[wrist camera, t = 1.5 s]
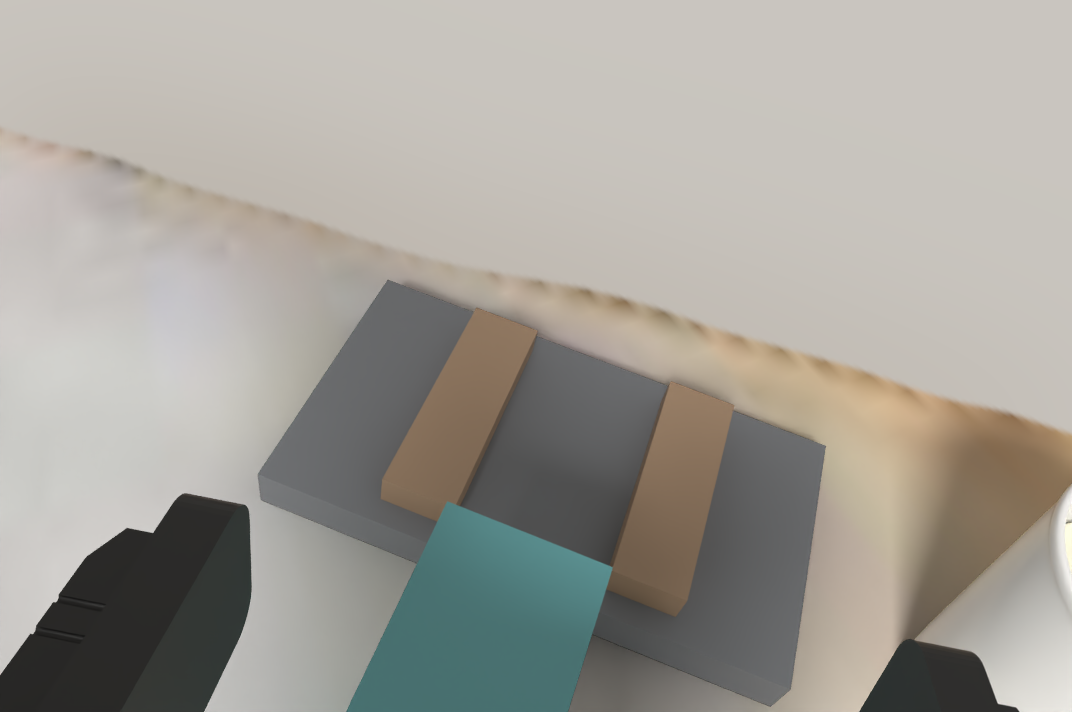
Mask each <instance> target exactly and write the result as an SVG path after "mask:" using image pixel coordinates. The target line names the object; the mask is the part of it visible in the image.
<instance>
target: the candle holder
mask: <svg viewBox="0 0 1072 712" xmlns="http://www.w3.org/2000/svg"><path fill="white" fill-rule="evenodd" d="M914 640H916V641H921V642H926V643H931V644H936V645H941V646H946V647H951V648H956V649H961V650H966V651H971V652H973V653H975V654H976V655H977V656H978V657H979V658H980V660H981V661H982V663H983V665H984V668H985V670H986V673H987V676H988V678H989V681H990V684H991V686H992V689H993V692H994V695H995V697H996V700H997V703H998V704H1002V705H1007V706H1012V707H1016V708H1017V709H1018V710H1019V712H1072V484H1071V485H1070V486H1069V487H1068V488H1067V489H1066V490H1065V491H1064V493H1063V494H1062V495H1061V497H1060V498H1059V499H1058V500H1057V501H1056V502H1055V503H1054V504H1053V505H1052V506H1051V507H1050V508H1049V509H1048V510H1047V511H1046V512H1045V513H1044V514H1043V515H1042V516H1041V517H1040V518H1039V519H1038V520H1037V521H1036V522H1035V523H1034V524H1033V525H1031V526H1030V527H1029V528H1028V529H1027V530H1026V531H1025V532H1024V533H1023V534H1022V535H1021V536H1020V537H1019V538H1018V539H1017V540H1016V541H1015V542H1014V543H1013V544H1012V545H1011V546H1009V547H1008V548H1007V549H1006V550H1005V551H1004V552H1003V553H1002V554H1001V555H1000V556H999V557H998V558H997V559H996V560H995V561H994V562H993V563H992V564H991V565H990V566H988V567H987V568H986V569H985V570H984V571H983V572H982V573H981V574H980V575H979V576H978V577H977V578H976V579H975V580H974V581H973V582H972V583H971V584H970V585H969V586H968V587H966V588H965V589H964V590H963V591H962V592H961V593H960V594H959V595H958V596H957V597H956V598H955V599H954V600H953V601H952V602H951V603H950V604H949V605H948V606H947V607H946V608H945V609H944V610H942V611H941V612H940V613H939V614H938V615H937V616H936V617H935V618H934V619H933V620H932V621H931V622H930V623H929V624H928V625H927V626H926V627H925V628H924V629H923V630H922V631H921V632H920V633H919V635H918V636H917V637H916V638H915V639H914Z"/></svg>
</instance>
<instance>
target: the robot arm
mask: <svg viewBox="0 0 1072 712" xmlns="http://www.w3.org/2000/svg"><path fill="white" fill-rule="evenodd" d="M251 587H252V585H251V552H250V519H249V511H248V508H247V506H246V505H242V504H237V503H232V502H227V501H222V500H217V499H212V498H207V497H202V496H197V495H192V494H186V493H185V494H182V495H180V496H179V497H178V498H177V499H176V500H175V501H174V503H173V504H172V506H171V507H170V509H169V510H168V512H167V513H166V515H165V516H164V518H163V519H162V521H161V522H160V524H159V525H158V527H157V528H156V530H155V531H154V533H149V532H144V531H139V530H134V529H129V528H126V529H125V530H124V531H122V532H121V533H119V534H118V535H117V536H115V537H114V538H112V539H111V540H110V541H108V542H107V543H105V544H104V545H102V546H101V547H100V548H98V549H97V550H95V551H94V552H93V553H91V554H90V555H88V556H87V557H86V558H85V559H84V561H83V562H82V564H81V565H80V566H79V568H78V569H77V570H76V572H75V573H74V575H73V576H72V577H71V579H70V580H69V581H68V583H67V584H66V586H65V587H64V588H63V590H62V591H61V592H60V594H59V598H58V601H57V602H53V603H52V605H51V606H50V608H49V609H48V610H47V612H46V613H45V614H44V616H43V617H42V619H41V620H40V621H39V623H38V624H37V625H36V630H35V632H34V634H30V635H29V636H28V638H27V639H26V640H25V642H24V643H23V645H22V646H21V647H20V649H19V650H18V651H17V653H16V654H15V656H14V657H13V658H12V660H11V661H10V662H9V664H8V665H7V667H6V668H5V669H4V671H3V672H2V673H1V675H0V712H204V711H205V708H206V706H207V704H208V702H209V700H210V698H211V696H212V694H213V692H214V690H215V688H216V686H217V684H218V682H219V679H220V677H221V675H222V673H223V671H224V669H225V667H226V665H227V663H228V661H229V659H230V657H231V655H232V652H233V650H234V648H235V646H236V644H237V642H238V640H239V638H240V635H241V633H242V630H243V627H244V624H245V621H246V617H247V614H248V610H249V605H250V599H251ZM860 712H1019V710H1018V709H1017V708H1016V707H1012V706H1007V705H1002V704H998V703H997V700H996V697H995V695H994V692H993V689H992V686H991V684H990V681H989V678H988V676H987V673H986V670H985V668H984V665H983V663H982V661H981V660H980V658H979V657H978V656H977V655H976V654H975V653H973V652H971V651H966V650H961V649H956V648H951V647H946V646H941V645H936V644H931V643H926V642H921V641H916V640H911V639H909V640H905V641H903V642H902V643H901V644H900V645H899V647H898V648H897V650H896V652H895V653H894V655H893V656H892V658H891V660H890V661H889V663H888V665H887V666H886V668H885V670H884V671H883V673H882V675H881V676H880V678H879V680H878V681H877V683H876V685H875V686H874V688H873V690H872V691H871V693H870V695H869V696H868V698H867V700H866V701H865V703H864V705H863V706H862V708H861V710H860Z"/></svg>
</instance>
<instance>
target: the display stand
mask: <svg viewBox="0 0 1072 712" xmlns="http://www.w3.org/2000/svg"><path fill="white" fill-rule="evenodd" d="M537 332H538V331H537V330H534V329H532V328H529V327H526V326H524V325H521V324H519V323H516V322H513V321H511V320H508V319H505V318H503V317H500V316H497V315H495V314H492V313H490V312H487V311H484V310H482V309H479V308H476V310H475V311H474V312H472V311H469V310H466V309H464V308H461V307H458V306H456V305H453V304H451V303H448V302H445V301H443V300H440V299H437V298H435V297H432V296H429V295H427V294H424V293H422V292H419V291H416V290H414V289H411V288H408V287H406V286H403V285H400V284H398V283H395V282H393V281H390V280H387V282H386V283H385V285H384V286H383V288H382V289H381V291H380V292H379V294H378V295H377V297H376V298H375V300H374V301H373V303H372V304H371V306H370V307H369V309H368V310H367V312H366V313H365V315H364V316H363V318H362V319H361V320H360V322H359V323H358V325H357V326H356V328H355V329H354V331H353V332H352V334H351V335H350V337H349V338H348V340H347V341H346V343H345V344H344V346H343V347H342V349H341V350H340V352H339V353H338V355H337V356H336V358H335V359H334V361H333V362H332V364H331V365H330V367H329V368H328V370H327V371H326V373H325V374H324V376H323V377H322V379H321V380H320V382H319V383H318V385H317V386H316V388H315V389H314V391H313V392H312V394H311V395H310V397H309V398H308V400H307V401H306V403H305V404H304V406H303V407H302V409H301V410H300V412H299V413H298V415H297V416H296V418H295V419H294V421H293V422H292V424H291V425H290V427H289V428H288V430H287V431H286V433H285V434H284V436H283V437H282V439H281V440H280V442H279V443H278V445H277V446H276V448H275V449H274V451H273V452H272V454H271V455H270V457H269V458H268V460H267V461H266V463H265V464H264V466H263V467H262V469H261V470H260V472H259V473H258V481H259V489H260V498H261V500H262V501H265V502H267V503H270V504H272V505H275V506H277V507H280V508H282V509H285V510H287V511H290V512H292V513H294V514H297V515H299V516H302V517H304V518H307V519H309V520H312V521H314V522H317V523H319V524H322V525H324V526H326V527H329V528H331V529H334V530H336V531H339V532H341V533H344V534H346V535H349V536H351V537H354V538H356V539H358V540H361V541H363V542H366V543H368V544H371V545H373V546H376V547H378V548H381V549H383V550H386V551H388V552H391V553H393V554H395V555H398V556H400V557H403V558H405V559H408V560H410V561H413V562H415V563H418V561H419V559H420V557H421V555H422V553H423V551H424V549H425V546H426V544H427V542H428V540H429V538H430V536H431V534H432V532H433V530H434V528H435V526H436V524H437V521H438V519H439V517H440V515H441V513H442V511H443V509H444V507H445V505H446V503H447V501H448V502H450V503H453V504H455V505H458V506H460V507H463V508H465V509H468V510H470V511H473V512H475V513H478V514H481V515H483V516H486V517H488V518H491V519H493V520H496V521H498V522H501V523H503V524H506V525H508V526H511V527H513V528H516V529H518V530H521V531H523V532H526V533H528V534H531V535H533V536H536V537H538V538H541V539H543V540H546V541H548V542H551V543H553V544H556V545H558V546H561V547H563V548H566V549H568V550H571V551H573V552H576V553H578V554H581V555H583V556H586V557H588V558H591V559H593V560H596V561H598V562H601V563H603V564H606V565H608V566H611V567H613V569H612V572H611V575H610V578H609V582H608V585H607V588H606V591H605V594H604V598H603V601H602V604H601V607H600V611H599V614H598V617H597V620H596V623H595V627H594V630H593V633H592V634H593V635H595V636H597V637H600V638H602V639H605V640H607V641H610V642H612V643H615V644H617V645H620V646H622V647H625V648H627V649H630V650H632V651H634V652H637V653H639V654H642V655H644V656H647V657H649V658H652V659H654V660H657V661H659V662H662V663H664V664H666V665H669V666H671V667H674V668H676V669H679V670H681V671H684V672H686V673H689V674H691V675H694V676H696V677H699V678H701V679H703V680H706V681H708V682H711V683H713V684H716V685H718V686H721V687H723V688H726V689H728V690H731V691H733V692H735V693H738V694H740V695H743V696H745V697H748V698H750V699H753V700H755V701H758V702H760V703H763V704H765V705H768V706H770V707H771V706H772V705H773V704H774V703H776V702H777V701H778V700H779V699H780V698H781V697H782V696H784V695H785V694H786V693H787V692H788V691H789V690H790V689H791V684H792V677H793V670H794V663H795V656H796V649H797V642H798V635H799V628H800V621H801V614H802V607H803V600H804V593H805V586H806V580H807V573H808V566H809V559H810V552H811V545H812V538H813V531H814V524H815V517H816V510H817V503H818V496H819V489H820V482H821V476H822V469H823V462H824V455H825V448H826V446H825V445H822V444H819V443H817V442H814V441H811V440H809V439H806V438H804V437H801V436H798V435H796V434H793V433H790V432H788V431H785V430H782V429H780V428H777V427H775V426H772V425H769V424H767V423H764V422H761V421H759V420H756V419H754V418H751V417H748V416H746V415H743V414H740V413H738V412H735V411H733V409H734V405H732V404H730V403H727V402H724V401H722V400H719V399H716V398H714V397H711V396H708V395H706V394H703V393H701V392H698V391H695V390H693V389H690V388H687V387H685V386H682V385H679V384H677V383H674V382H672V381H671V382H670V384H669V386H667V385H664V384H661V383H659V382H656V381H653V380H651V379H648V378H646V377H643V376H640V375H638V374H635V373H632V372H630V371H627V370H624V369H622V368H619V367H617V366H614V365H611V364H609V363H606V362H603V361H601V360H598V359H595V358H593V357H590V356H588V355H585V354H582V353H580V352H577V351H574V350H572V349H569V348H566V347H564V346H561V345H559V344H556V343H553V342H551V341H548V340H545V339H543V338H540V337H537Z"/></svg>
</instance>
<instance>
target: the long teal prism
mask: <svg viewBox="0 0 1072 712" xmlns="http://www.w3.org/2000/svg"><path fill="white" fill-rule="evenodd" d="M612 569H613V567H611V566H608V565H606V564H603V563H601V562H598V561H596V560H593V559H591V558H588V557H586V556H583V555H581V554H578V553H576V552H573V551H571V550H568V549H566V548H563V547H561V546H558V545H556V544H553V543H551V542H548V541H546V540H543V539H541V538H538V537H536V536H533V535H531V534H528V533H526V532H523V531H521V530H518V529H516V528H513V527H511V526H508V525H506V524H503V523H501V522H498V521H496V520H493V519H491V518H488V517H486V516H483V515H481V514H478V513H475V512H473V511H470V510H468V509H465V508H463V507H460V506H458V505H455V504H453V503H450V502H448V501H447V503H446V505H445V507H444V509H443V511H442V513H441V515H440V517H439V519H438V521H437V524H436V526H435V528H434V530H433V532H432V534H431V536H430V538H429V540H428V542H427V544H426V546H425V549H424V551H423V553H422V555H421V557H420V559H419V561H418V563H417V565H416V567H415V569H414V571H413V574H412V576H411V578H410V580H409V582H408V584H407V586H406V588H405V590H404V592H403V594H402V596H401V599H400V601H399V603H398V605H397V607H396V609H395V611H394V613H393V615H392V617H391V619H390V621H389V624H388V626H387V628H386V630H385V632H384V634H383V636H382V638H381V640H380V642H379V644H378V646H377V649H376V651H375V653H374V655H373V657H372V659H371V661H370V663H369V665H368V667H367V669H366V671H365V673H364V676H363V678H362V680H361V682H360V684H359V686H358V688H357V690H356V692H355V694H354V696H353V698H352V701H351V703H350V705H349V707H348V709H347V711H346V712H568V710H569V707H570V704H571V700H572V697H573V694H574V691H575V688H576V684H577V681H578V678H579V675H580V672H581V668H582V665H583V662H584V659H585V655H586V652H587V649H588V646H589V643H590V639H591V636H592V633H593V630H594V627H595V623H596V620H597V617H598V614H599V611H600V607H601V604H602V601H603V598H604V594H605V591H606V588H607V585H608V582H609V578H610V575H611V572H612Z"/></svg>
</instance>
